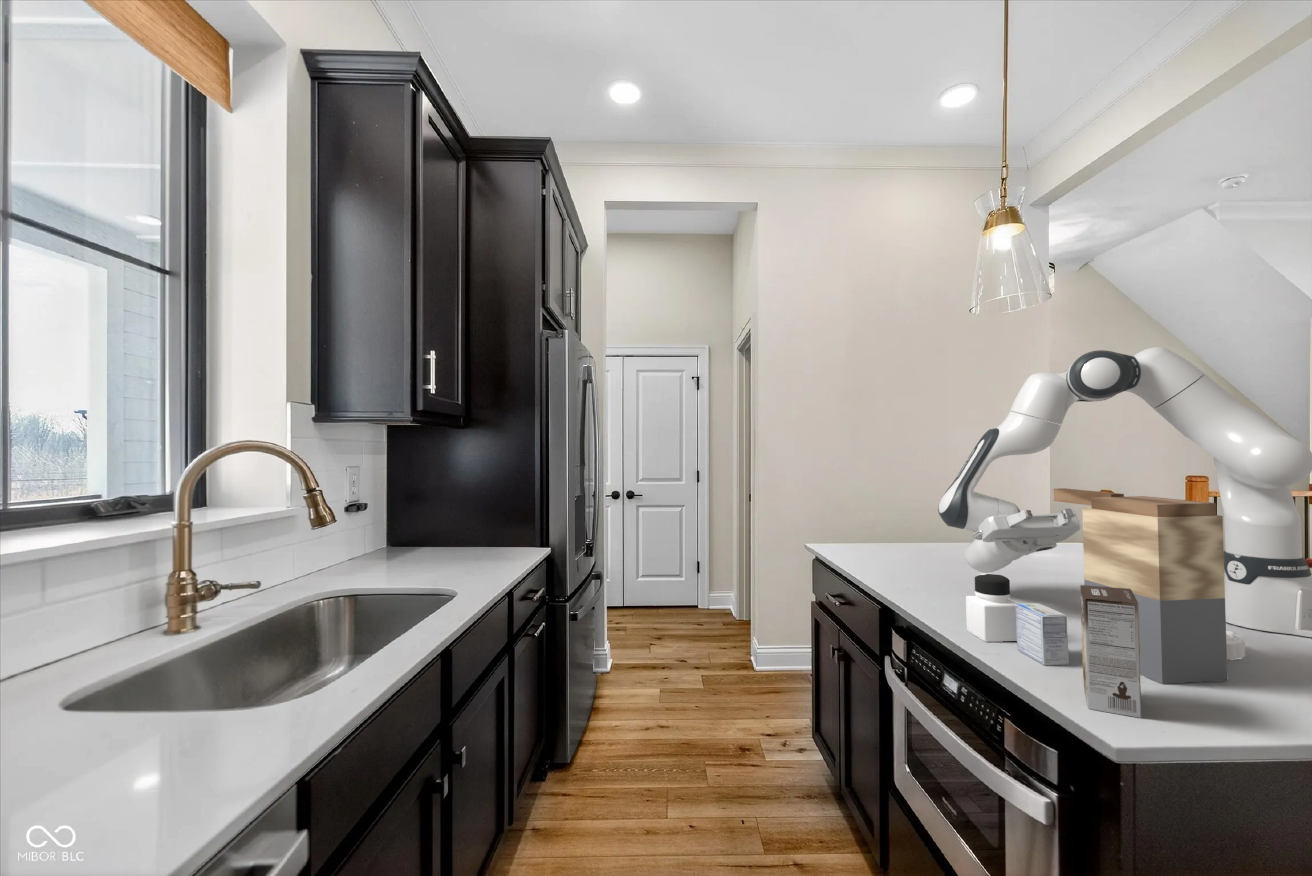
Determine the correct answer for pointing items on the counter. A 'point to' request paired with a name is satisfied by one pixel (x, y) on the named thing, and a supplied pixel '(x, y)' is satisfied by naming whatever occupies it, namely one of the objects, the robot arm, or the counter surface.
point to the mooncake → (1234, 645)
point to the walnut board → (1135, 503)
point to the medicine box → (1042, 633)
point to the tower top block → (1155, 554)
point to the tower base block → (1181, 639)
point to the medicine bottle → (991, 609)
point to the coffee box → (1111, 650)
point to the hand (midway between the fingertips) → (1050, 512)
